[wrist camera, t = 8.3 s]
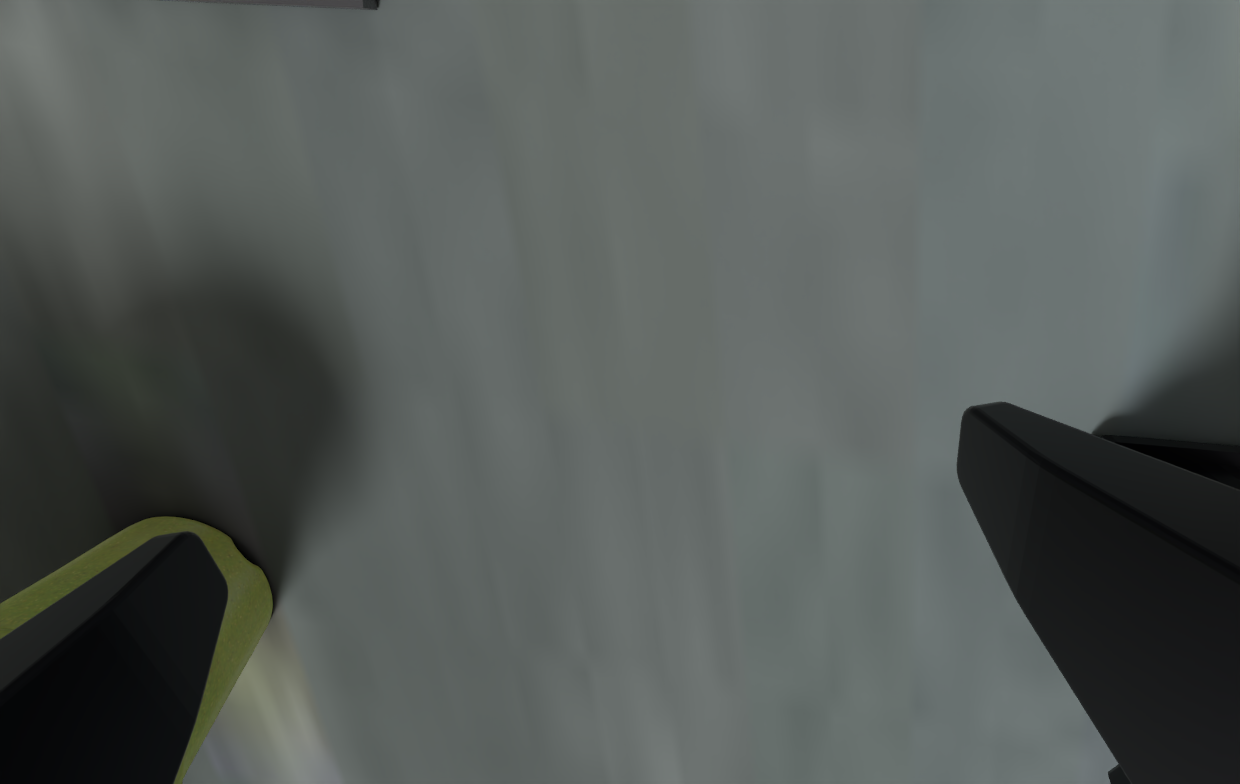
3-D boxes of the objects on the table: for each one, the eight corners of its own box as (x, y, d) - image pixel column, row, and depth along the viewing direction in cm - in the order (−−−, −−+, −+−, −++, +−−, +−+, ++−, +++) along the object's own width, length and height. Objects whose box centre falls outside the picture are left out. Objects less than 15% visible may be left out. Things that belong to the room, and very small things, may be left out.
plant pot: (48, 449, 25) (-256, 632, 17) (313, 498, 24) (128, 708, 16) (97, 648, 29) (-130, 870, 21) (324, 692, 28) (181, 934, 21)
